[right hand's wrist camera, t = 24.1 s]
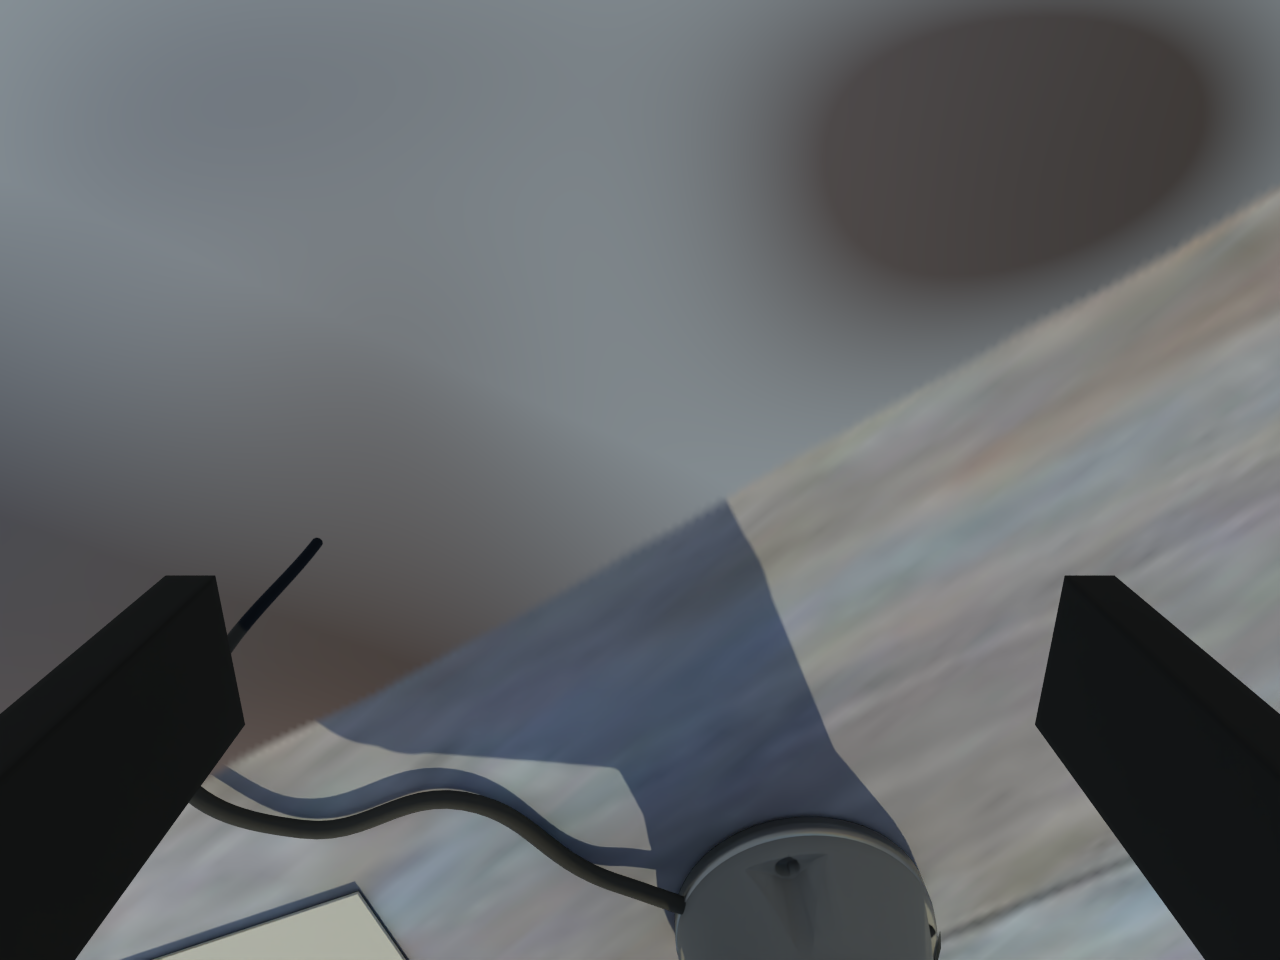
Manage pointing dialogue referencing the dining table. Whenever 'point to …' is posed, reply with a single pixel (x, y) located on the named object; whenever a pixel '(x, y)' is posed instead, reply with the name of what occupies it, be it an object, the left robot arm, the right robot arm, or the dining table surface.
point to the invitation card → (305, 937)
